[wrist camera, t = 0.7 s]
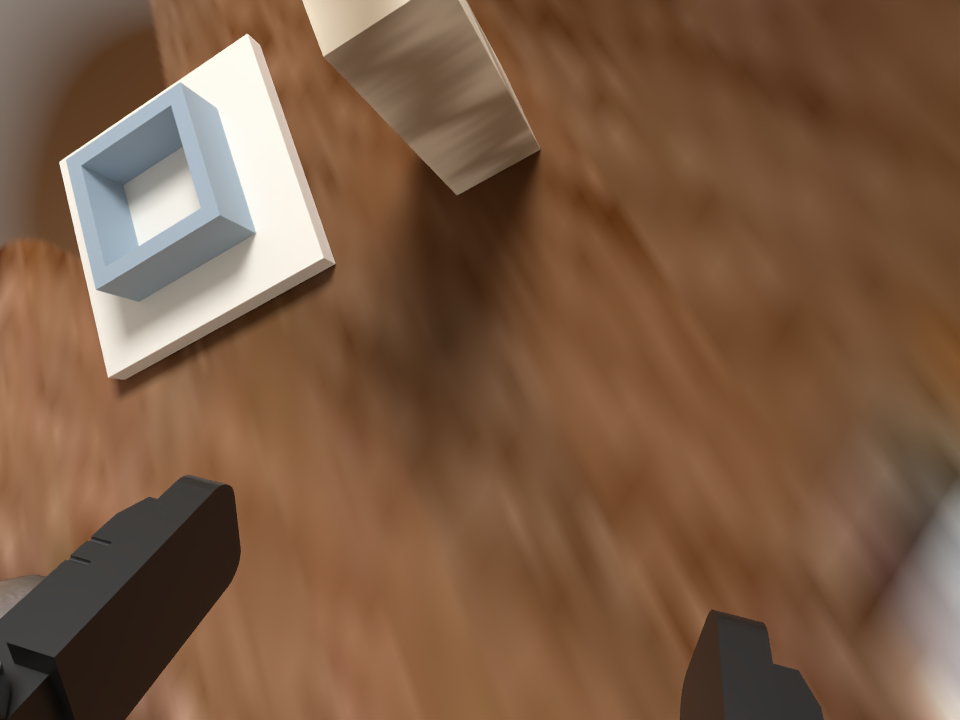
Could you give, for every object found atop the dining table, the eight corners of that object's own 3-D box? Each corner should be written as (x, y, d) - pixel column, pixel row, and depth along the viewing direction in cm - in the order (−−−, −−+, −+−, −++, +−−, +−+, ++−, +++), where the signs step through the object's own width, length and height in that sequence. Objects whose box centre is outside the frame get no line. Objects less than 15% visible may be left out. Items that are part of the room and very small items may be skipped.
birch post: (505, 73, 35) (397, -129, 23) (540, 149, 34) (446, -23, 22) (426, 120, 37) (284, -48, 25) (456, 195, 35) (323, 56, 23)
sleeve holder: (260, 45, 41) (212, 1, 38) (335, 263, 37) (291, 240, 33) (75, 169, 45) (15, 141, 41) (124, 379, 41) (62, 371, 37)
